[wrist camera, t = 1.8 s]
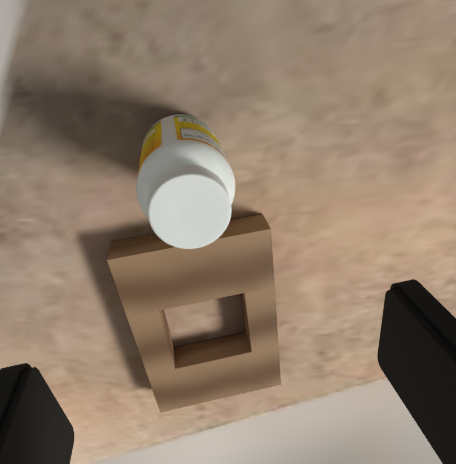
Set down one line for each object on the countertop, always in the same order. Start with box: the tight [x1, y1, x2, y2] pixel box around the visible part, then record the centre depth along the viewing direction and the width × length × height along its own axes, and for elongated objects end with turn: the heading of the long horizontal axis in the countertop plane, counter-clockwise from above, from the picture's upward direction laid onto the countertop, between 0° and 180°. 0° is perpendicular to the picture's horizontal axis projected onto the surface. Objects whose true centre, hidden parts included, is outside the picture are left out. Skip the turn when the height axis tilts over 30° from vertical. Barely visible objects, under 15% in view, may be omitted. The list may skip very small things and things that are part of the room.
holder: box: [107, 214, 281, 412], centre depth 32 cm, size 18×12×2 cm, turn 7°
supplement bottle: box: [136, 114, 235, 249], centre depth 21 cm, size 5×5×10 cm
